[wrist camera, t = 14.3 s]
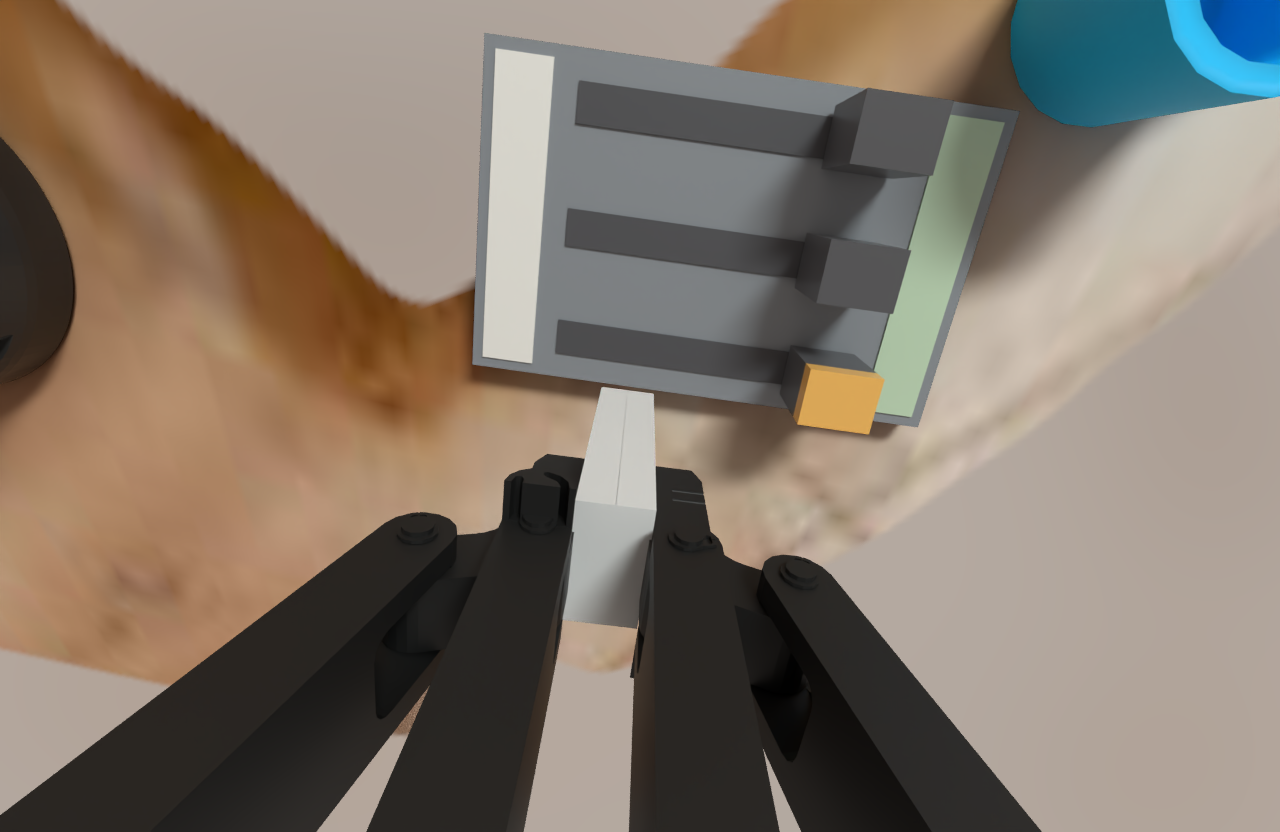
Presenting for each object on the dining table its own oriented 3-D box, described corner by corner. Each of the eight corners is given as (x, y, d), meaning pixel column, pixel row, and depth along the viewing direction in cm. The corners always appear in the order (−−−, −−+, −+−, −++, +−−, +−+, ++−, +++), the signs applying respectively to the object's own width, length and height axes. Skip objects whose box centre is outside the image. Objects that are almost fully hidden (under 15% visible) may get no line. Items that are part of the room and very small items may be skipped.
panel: (481, 356, 30) (471, 364, 29) (494, 41, 25) (483, 32, 24) (906, 416, 30) (918, 428, 29) (1000, 115, 26) (1021, 110, 24)
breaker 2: (794, 288, 27) (816, 303, 23) (806, 232, 26) (831, 239, 22) (860, 297, 27) (893, 314, 23) (874, 242, 26) (911, 250, 22)
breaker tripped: (779, 393, 28) (797, 424, 25) (790, 345, 28) (810, 369, 24) (841, 402, 28) (868, 434, 25) (854, 354, 28) (884, 379, 24)
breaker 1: (821, 168, 25) (849, 163, 21) (835, 105, 24) (868, 87, 20) (891, 178, 25) (932, 175, 21) (908, 116, 24) (954, 100, 20)
